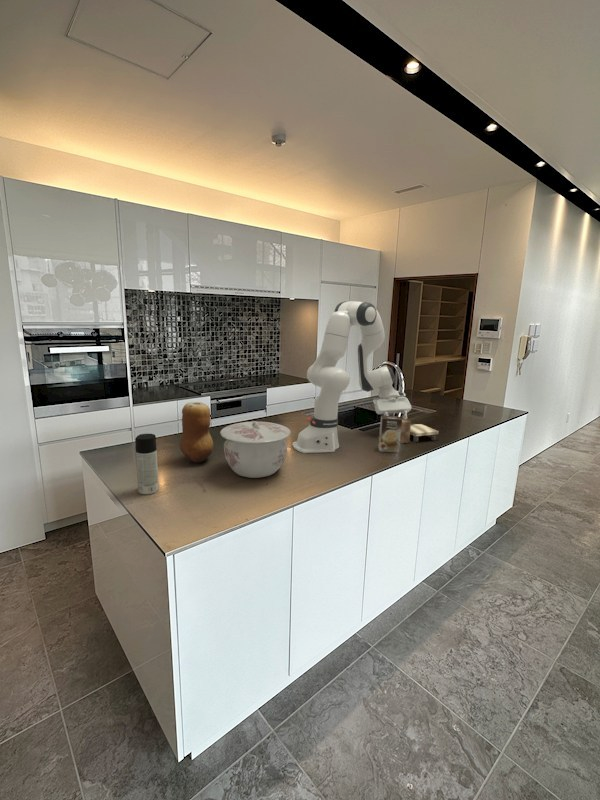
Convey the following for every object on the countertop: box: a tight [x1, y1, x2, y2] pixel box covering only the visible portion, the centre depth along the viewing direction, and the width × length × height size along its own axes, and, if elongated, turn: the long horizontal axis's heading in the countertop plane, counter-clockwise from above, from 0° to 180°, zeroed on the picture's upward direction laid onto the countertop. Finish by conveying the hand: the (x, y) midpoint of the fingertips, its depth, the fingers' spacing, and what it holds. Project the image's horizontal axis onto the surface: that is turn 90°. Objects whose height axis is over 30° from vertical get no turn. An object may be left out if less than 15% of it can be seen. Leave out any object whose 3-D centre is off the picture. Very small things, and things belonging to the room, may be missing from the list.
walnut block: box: [400, 418, 412, 444], centre depth 195 cm, size 5×5×11 cm
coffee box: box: [377, 414, 403, 453], centre depth 181 cm, size 9×6×16 cm
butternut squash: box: [179, 401, 214, 464], centre depth 160 cm, size 14×13×25 cm
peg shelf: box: [410, 423, 439, 443], centre depth 202 cm, size 14×14×5 cm
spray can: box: [134, 433, 160, 495], centre depth 132 cm, size 7×7×20 cm
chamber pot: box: [219, 420, 292, 479], centre depth 152 cm, size 28×28×21 cm
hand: (398, 419), depth 198 cm, fingers open, 8 cm apart
